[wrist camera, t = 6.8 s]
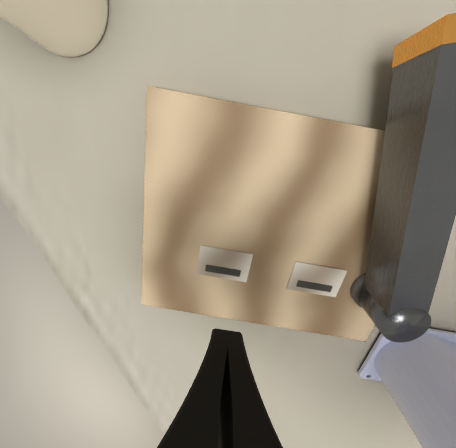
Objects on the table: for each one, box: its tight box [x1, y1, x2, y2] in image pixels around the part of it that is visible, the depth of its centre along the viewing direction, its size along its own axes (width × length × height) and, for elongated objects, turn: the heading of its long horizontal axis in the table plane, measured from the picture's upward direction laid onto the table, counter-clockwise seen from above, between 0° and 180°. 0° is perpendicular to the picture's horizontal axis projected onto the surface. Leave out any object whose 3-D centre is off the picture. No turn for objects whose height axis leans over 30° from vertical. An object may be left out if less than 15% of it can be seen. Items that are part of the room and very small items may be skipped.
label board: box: [142, 86, 385, 341], centre depth 17 cm, size 22×18×2 cm
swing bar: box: [358, 13, 456, 342], centre depth 13 cm, size 19×3×3 cm, turn 7°
